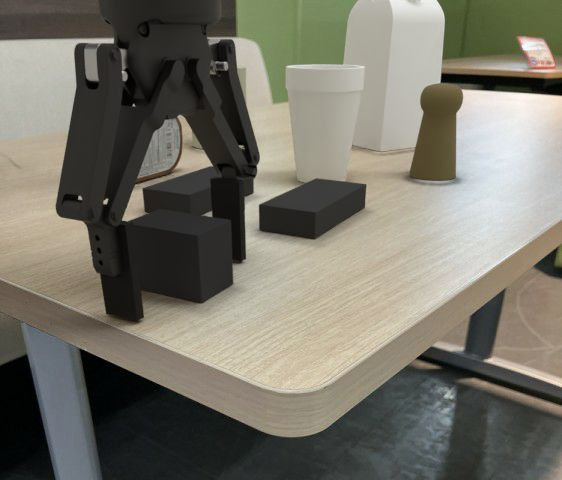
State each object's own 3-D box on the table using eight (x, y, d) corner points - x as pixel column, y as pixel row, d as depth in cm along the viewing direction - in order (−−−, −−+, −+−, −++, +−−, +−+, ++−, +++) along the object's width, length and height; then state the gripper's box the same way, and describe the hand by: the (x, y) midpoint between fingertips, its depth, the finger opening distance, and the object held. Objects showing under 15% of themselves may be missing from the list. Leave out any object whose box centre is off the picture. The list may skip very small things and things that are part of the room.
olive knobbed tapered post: (455, 171, 85) (467, 82, 79) (456, 181, 79) (469, 86, 74) (410, 169, 86) (419, 81, 80) (408, 179, 81) (417, 85, 75)
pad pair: (144, 211, 66) (141, 188, 65) (211, 187, 76) (210, 165, 75) (314, 239, 58) (315, 212, 57) (365, 207, 68) (366, 183, 67)
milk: (388, 135, 112) (403, -40, 99) (435, 144, 103) (458, -45, 90) (335, 141, 106) (343, -44, 93) (380, 151, 97) (396, -50, 85)
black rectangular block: (130, 287, 48) (122, 222, 45) (165, 269, 51) (160, 208, 49) (201, 303, 45) (197, 235, 43) (233, 283, 48) (231, 219, 46)
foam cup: (311, 190, 75) (314, 70, 69) (271, 176, 82) (270, 65, 75) (373, 181, 79) (381, 67, 73) (330, 168, 86) (334, 63, 80)
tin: (171, 167, 86) (165, 101, 82) (189, 169, 85) (184, 102, 81) (92, 189, 75) (81, 114, 71) (111, 192, 74) (101, 116, 70)
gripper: (44, -82, 26) (111, 362, 37) (303, -37, 46) (299, 246, 56) (-73, -71, 29) (20, 336, 40) (216, -34, 49) (227, 234, 59)
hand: (183, 284), depth 48 cm, fingers open, 13 cm apart
